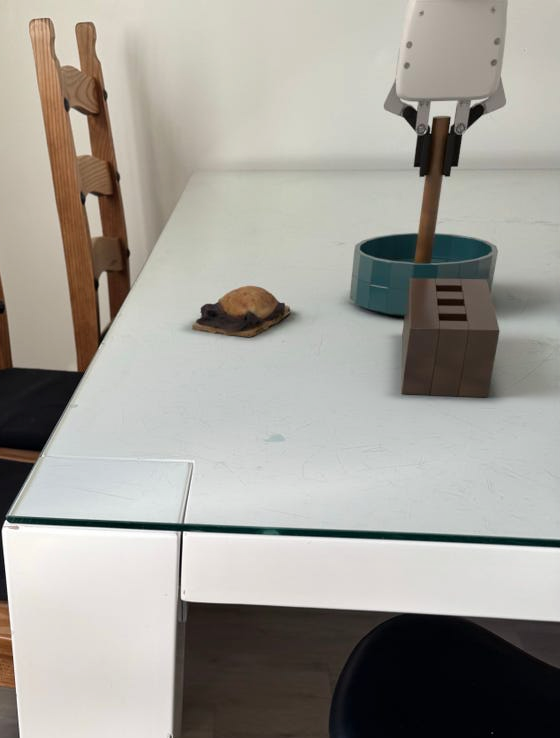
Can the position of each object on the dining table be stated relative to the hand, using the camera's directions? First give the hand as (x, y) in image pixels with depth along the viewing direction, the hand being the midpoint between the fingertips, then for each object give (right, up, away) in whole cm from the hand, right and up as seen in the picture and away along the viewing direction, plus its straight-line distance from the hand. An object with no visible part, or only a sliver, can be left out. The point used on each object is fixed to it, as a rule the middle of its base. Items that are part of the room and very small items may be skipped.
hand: (434, 173), depth 107 cm
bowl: (+1, -11, +8) cm, 14 cm away
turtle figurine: (-20, -15, +5) cm, 25 cm away
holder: (-3, -24, -10) cm, 26 cm away
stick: (+1, -11, +7) cm, 13 cm away
